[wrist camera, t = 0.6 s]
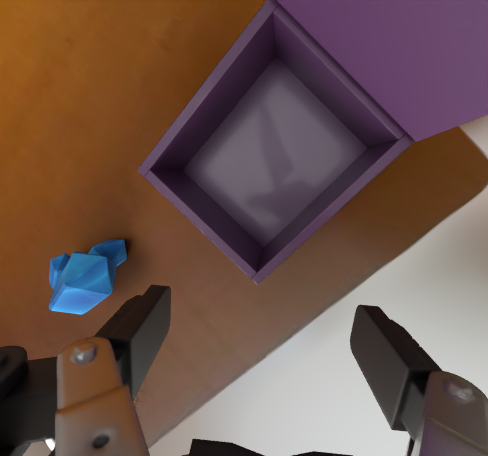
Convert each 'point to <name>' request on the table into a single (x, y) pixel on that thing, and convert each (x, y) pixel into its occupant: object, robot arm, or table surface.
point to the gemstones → (85, 276)
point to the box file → (272, 144)
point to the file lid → (408, 55)
